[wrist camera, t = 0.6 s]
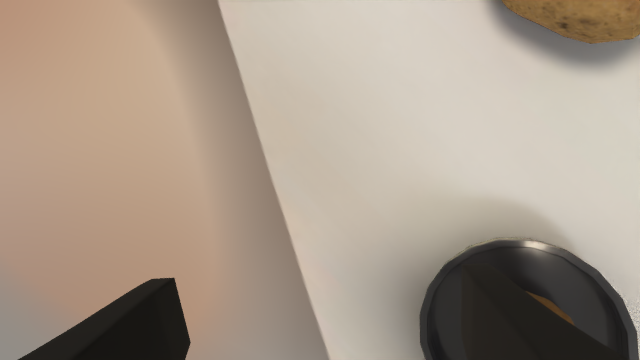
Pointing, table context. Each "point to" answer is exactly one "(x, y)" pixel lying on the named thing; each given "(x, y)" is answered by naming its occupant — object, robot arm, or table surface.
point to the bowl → (535, 277)
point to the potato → (583, 17)
